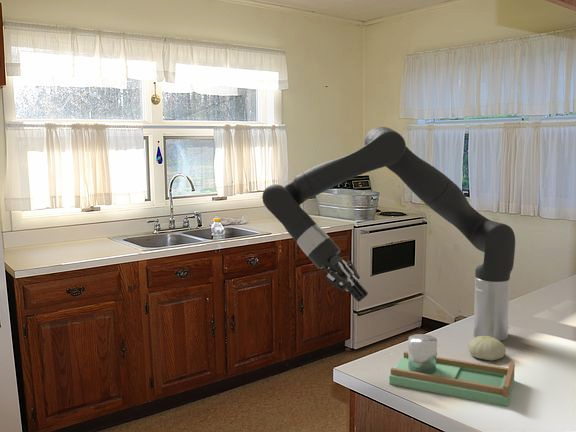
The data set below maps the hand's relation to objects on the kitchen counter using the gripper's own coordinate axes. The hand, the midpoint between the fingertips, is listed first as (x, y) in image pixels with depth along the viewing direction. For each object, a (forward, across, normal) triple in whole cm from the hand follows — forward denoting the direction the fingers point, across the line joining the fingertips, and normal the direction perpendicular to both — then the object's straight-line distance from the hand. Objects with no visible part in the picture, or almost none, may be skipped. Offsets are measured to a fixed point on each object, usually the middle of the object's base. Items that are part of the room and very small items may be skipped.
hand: (363, 297), depth 137 cm
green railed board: (+28, 0, -3) cm, 28 cm away
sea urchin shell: (+32, +20, -6) cm, 38 cm away
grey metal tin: (+22, 0, +1) cm, 22 cm away
